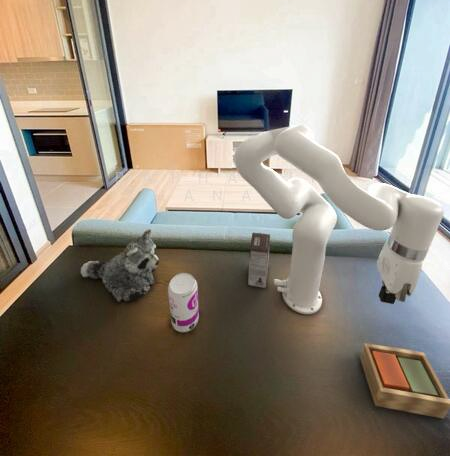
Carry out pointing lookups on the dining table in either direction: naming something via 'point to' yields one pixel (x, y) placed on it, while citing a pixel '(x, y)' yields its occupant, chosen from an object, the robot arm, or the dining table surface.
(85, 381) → the dining table surface
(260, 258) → the coffee box
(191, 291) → the supplement can
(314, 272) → the robot arm
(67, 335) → the dining table surface
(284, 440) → the dining table surface
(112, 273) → the raccoon plush
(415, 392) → the snack tray
